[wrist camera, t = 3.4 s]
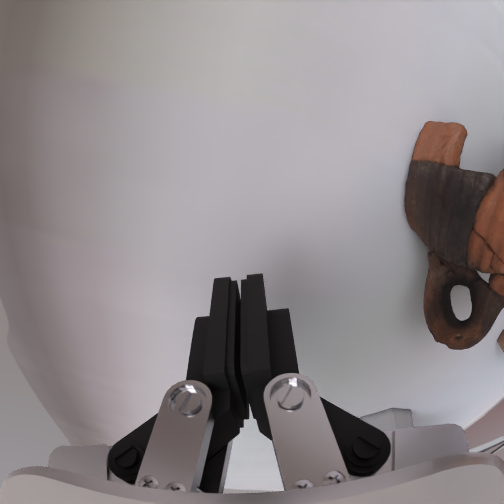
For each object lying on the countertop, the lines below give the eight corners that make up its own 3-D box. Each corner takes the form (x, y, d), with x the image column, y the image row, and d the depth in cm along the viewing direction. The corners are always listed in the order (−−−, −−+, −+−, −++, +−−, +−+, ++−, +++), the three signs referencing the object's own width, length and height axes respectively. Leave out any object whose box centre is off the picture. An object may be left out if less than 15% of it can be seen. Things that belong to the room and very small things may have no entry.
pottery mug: (426, 57, 10) (596, 102, 3) (475, 138, 15) (576, 179, 9) (340, 302, 13) (487, 415, 7) (416, 297, 19) (507, 358, 12)
